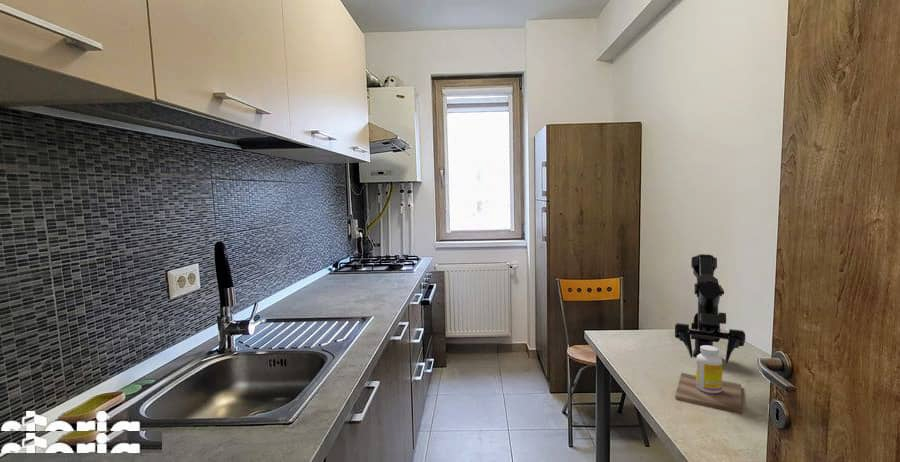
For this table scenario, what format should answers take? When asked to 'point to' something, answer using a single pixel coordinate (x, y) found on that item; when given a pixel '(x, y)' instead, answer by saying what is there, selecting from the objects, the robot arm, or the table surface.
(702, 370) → the supplement bottle
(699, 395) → the walnut board
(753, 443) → the table surface
